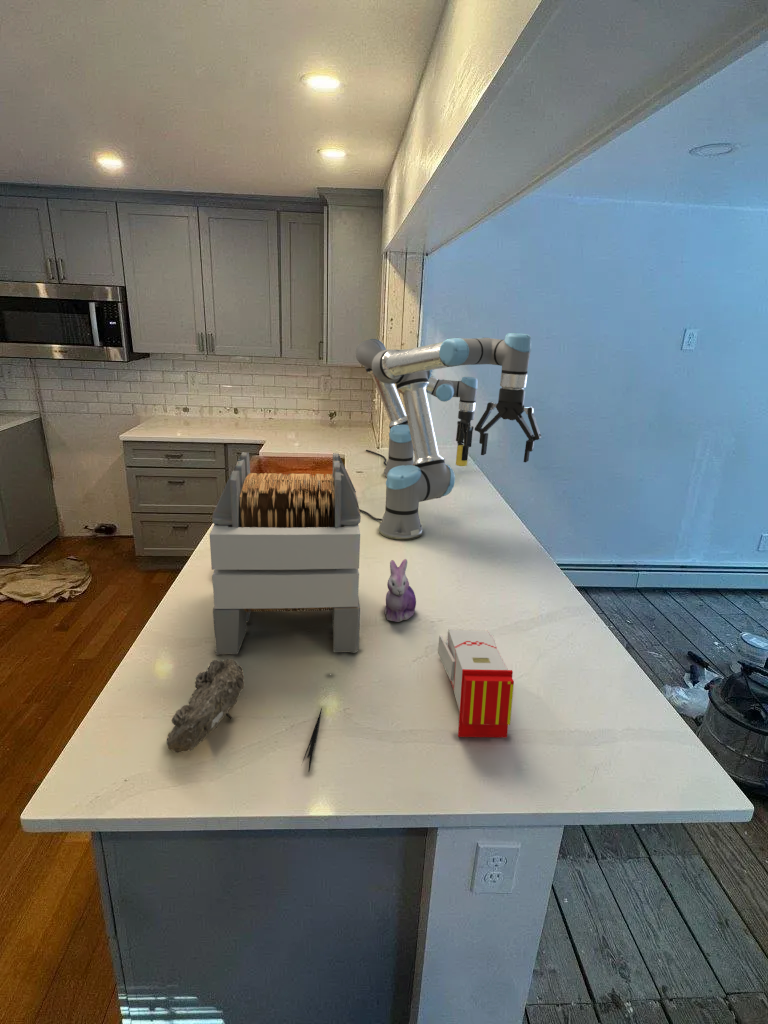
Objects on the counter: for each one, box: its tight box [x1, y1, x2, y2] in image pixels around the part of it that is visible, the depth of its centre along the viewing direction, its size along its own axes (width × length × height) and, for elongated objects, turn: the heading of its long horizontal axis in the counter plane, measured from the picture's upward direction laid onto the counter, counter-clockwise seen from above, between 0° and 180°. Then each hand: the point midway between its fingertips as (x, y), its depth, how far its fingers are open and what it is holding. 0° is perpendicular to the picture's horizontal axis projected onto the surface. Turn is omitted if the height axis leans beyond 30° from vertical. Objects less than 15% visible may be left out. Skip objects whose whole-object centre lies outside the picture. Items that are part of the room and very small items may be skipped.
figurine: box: [384, 558, 417, 623], centre depth 145 cm, size 9×10×15 cm
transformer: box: [209, 451, 362, 656], centre depth 137 cm, size 34×33×41 cm
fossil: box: [166, 658, 245, 754], centre depth 106 cm, size 22×10×15 cm
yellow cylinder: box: [455, 444, 470, 467], centre depth 274 cm, size 5×5×9 cm
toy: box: [437, 628, 515, 738], centre depth 117 cm, size 12×13×30 cm
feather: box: [301, 673, 332, 771], centre depth 108 cm, size 2×28×2 cm
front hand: (504, 457), depth 175 cm, fingers open, 13 cm apart
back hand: (461, 458), depth 275 cm, fingers closed on yellow cylinder, 5 cm apart
